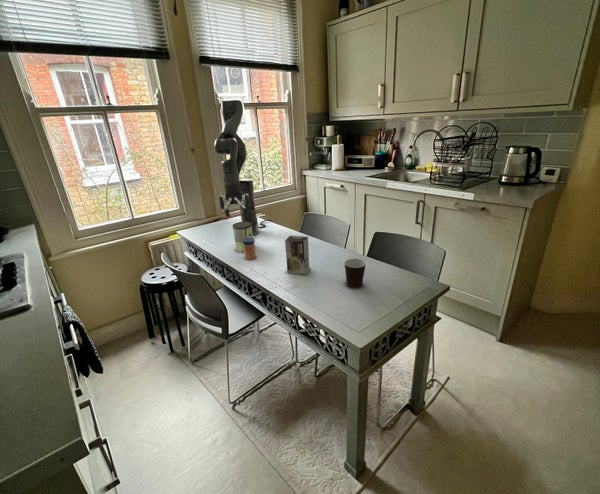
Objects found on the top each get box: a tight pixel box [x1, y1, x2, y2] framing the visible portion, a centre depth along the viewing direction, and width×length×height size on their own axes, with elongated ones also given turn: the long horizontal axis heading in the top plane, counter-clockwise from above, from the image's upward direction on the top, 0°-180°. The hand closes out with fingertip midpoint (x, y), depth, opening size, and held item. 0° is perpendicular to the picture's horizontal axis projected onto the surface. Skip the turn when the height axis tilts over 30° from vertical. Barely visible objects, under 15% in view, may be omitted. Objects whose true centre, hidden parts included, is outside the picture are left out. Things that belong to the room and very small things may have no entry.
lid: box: [243, 237, 255, 245], centre depth 159 cm, size 6×6×2 cm
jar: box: [243, 243, 257, 261], centre depth 161 cm, size 5×5×10 cm
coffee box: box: [284, 235, 310, 275], centre depth 143 cm, size 9×6×16 cm
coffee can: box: [232, 221, 254, 253], centre depth 172 cm, size 10×10×14 cm
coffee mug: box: [343, 258, 366, 289], centre depth 132 cm, size 12×9×10 cm
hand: (236, 216), depth 156 cm, fingers open, 8 cm apart
